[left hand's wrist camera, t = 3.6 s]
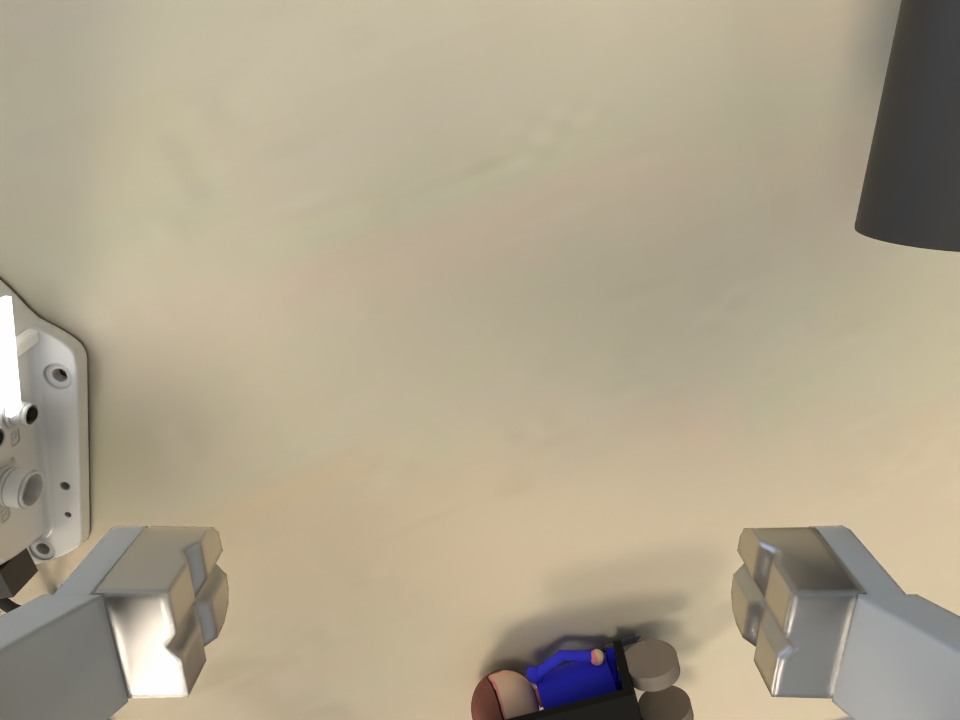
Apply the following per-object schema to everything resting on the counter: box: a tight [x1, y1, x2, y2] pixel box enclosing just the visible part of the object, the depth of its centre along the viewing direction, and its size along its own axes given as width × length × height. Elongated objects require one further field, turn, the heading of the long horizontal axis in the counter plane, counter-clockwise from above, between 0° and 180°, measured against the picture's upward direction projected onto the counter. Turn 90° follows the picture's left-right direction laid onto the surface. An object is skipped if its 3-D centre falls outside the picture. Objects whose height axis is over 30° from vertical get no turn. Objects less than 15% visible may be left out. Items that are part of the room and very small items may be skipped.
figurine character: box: [471, 635, 694, 720], centre depth 48 cm, size 7×8×15 cm
